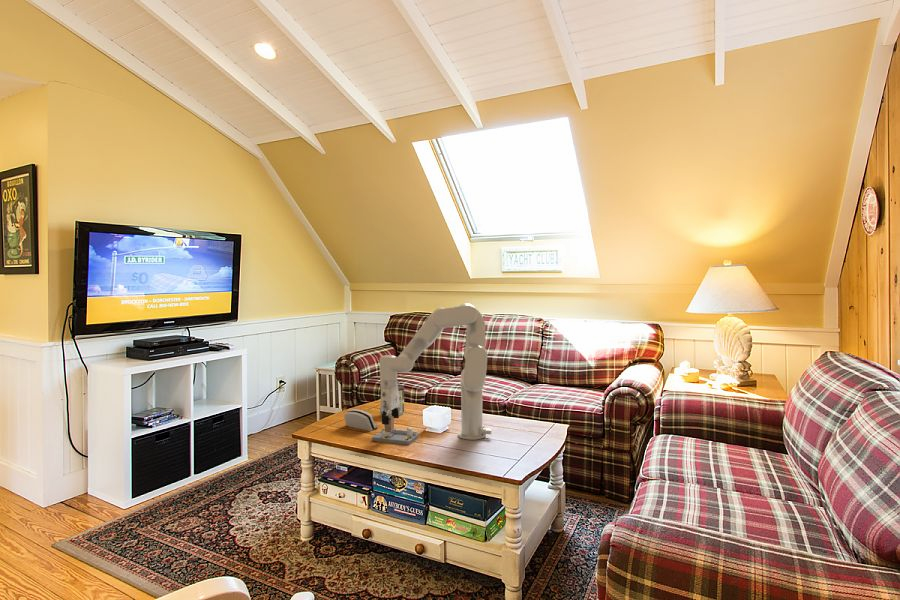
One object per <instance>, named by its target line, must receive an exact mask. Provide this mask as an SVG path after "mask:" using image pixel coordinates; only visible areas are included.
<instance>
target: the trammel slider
mask: <svg viewBox="0 0 900 600" xmlns="http://www.w3.org/2000/svg"><path fill="white" fill-rule="evenodd" d="M394 419H395V418H394V416H389V424H388V425H384V428H385V430H384V431H383V432H382V436H383V438H385V437H391V436H393V435H394V434H396V429H397V428H396V427H395V421H394Z"/></svg>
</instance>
